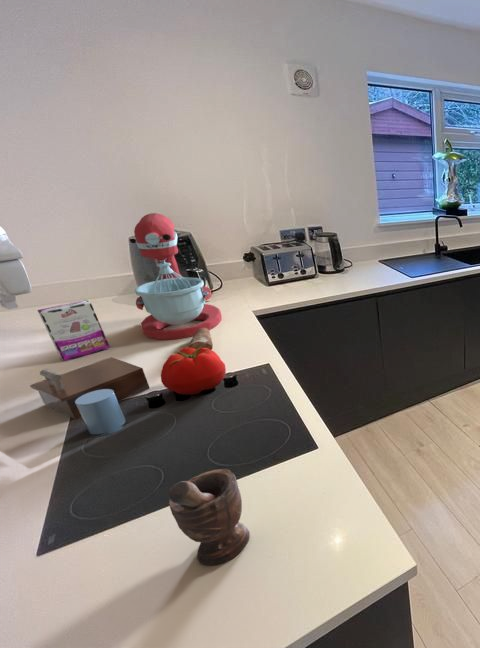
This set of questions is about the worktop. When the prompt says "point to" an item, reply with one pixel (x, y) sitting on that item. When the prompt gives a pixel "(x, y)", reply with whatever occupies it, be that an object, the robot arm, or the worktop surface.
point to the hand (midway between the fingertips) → (10, 307)
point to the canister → (101, 412)
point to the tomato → (192, 371)
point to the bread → (201, 339)
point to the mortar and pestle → (210, 515)
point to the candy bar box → (74, 329)
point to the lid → (84, 378)
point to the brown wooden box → (120, 388)
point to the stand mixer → (170, 285)
